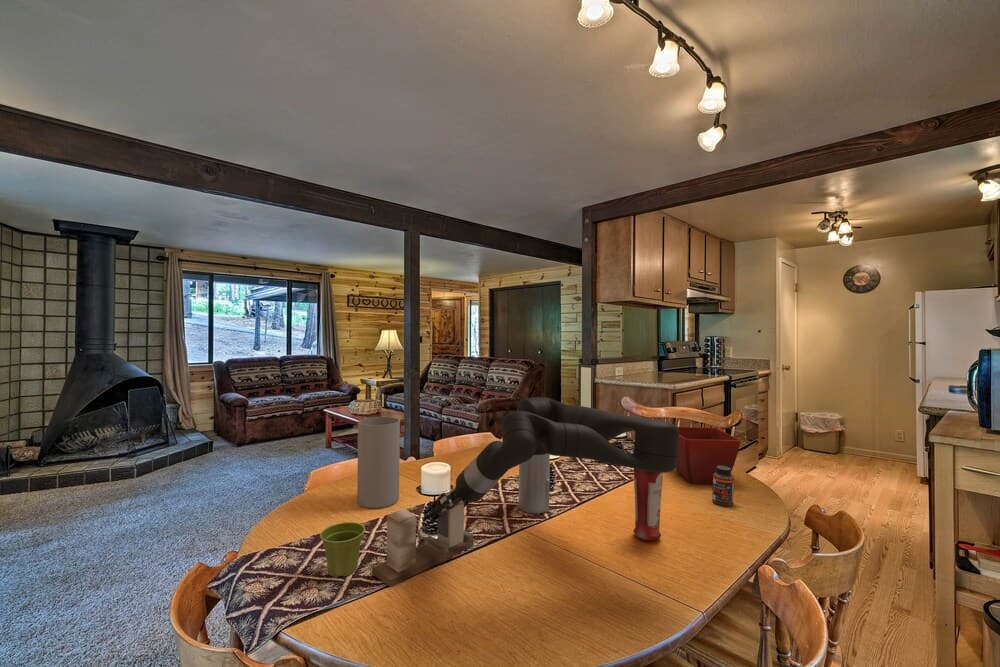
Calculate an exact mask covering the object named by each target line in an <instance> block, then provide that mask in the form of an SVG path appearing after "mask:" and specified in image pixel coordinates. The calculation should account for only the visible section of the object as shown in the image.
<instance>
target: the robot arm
mask: <svg viewBox="0 0 1000 667" xmlns="http://www.w3.org/2000/svg"><path fill="white" fill-rule="evenodd" d="M500 425H501V426H500V428H501V435H502V436H501V438H502V441H500V440H494V441H492V442H490V443H488V445H486V446H485V447H484V448H483V450H482V451H481V452H480V453H479V454H478V455H477V456H475V457H473V459H472V460H471V461H470V462H469V463H468V464H467V465H466V466H465V467H464V469H462V471H461V472H460V473H459V474H458V475H457V477H456V479H455V486H454V487H453V488H452V489H451V490H450V491H449V492H448V493H445V492H443V493H441V494H440V495H439V496H438V497H437V498H436V500H434V501H433V502H432V503H431V505H429V507H430V510H431V511H430V512H429V517H430V520H431V521H432V522H436V521H438V518H439V517H440V516H441V515H442V514H443V513H444V512H446V511H447V510H450V511H451V510H452V509H454V508H455V507H457V506H458V505H462V504H463V503H464V509H465V508H466V507H467V505H469V504H471V503H477V502H479V501H480V500H482V499H483V498H484V497H485V496H486V495H487V494H488V493H489V491H491V490H492V489H493V488H494V487H495V486H496V485H497V483H498V482H499V480H500V479H501V478H502V477H503V476H504V475H505V474H506V473H507V472H508V471H509V470H510V469H514V468H516V467H518V508H519V510H520V511H522V512H525V513H527V514H543V513H550V485H551V484H550V478H551V477H550V473H551V472H550V465H551V464H550V462H551V456H553V457H565V458H578V459H586V460H587V459H588V460H591V461H592V460H593V461H597V462H602V463H606V464H610V465H615V466H621V467H626V468H631V469H634V468H635V469H640V470H645V471H651V472H661V473H663V474H665V473H672V472H673V471H675V470H676V465H677V455H678V444H679V429H678V428H677V427H678V426H677V425H675V424H673V423H672V422H668V421H664V420H660V419H655V418H654V419H653V418H647V417H639V416H632V415H631V416H630V415H624V414H621V413H620V414H618V413H614V412H610V411H606V410H603V409H598V408H593V407H588V406H585V405H584V406H583V405H575V404H565V403H562V402H560V401H557V400H554V399H552V398H549V397H547V396H545V397H544V396H539V397H529V398H528V397H527V398H522V399H521V400H520V401H519V402H518V405H517V408H516V411H511V412H509V413H508V414H506V415H505V416H504V417H503V418H502V420H501V424H500ZM629 432H634V444H633V452H628V451H624V450H622V449H620V448H619V447H617V446H615V444H612V442H610V441H612V440H613V439H615V438H617V437H619V436H621V435H622V434H623V435H624V434H626V433H629ZM450 500H451V502H452V504H454V505H452V506H450V504H449V503H450V502H449V501H450ZM445 507H446V508H445Z"/></svg>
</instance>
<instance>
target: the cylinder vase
mask: <svg viewBox="0 0 1000 667" xmlns="http://www.w3.org/2000/svg"><path fill="white" fill-rule="evenodd" d="M400 434H401V419H400V418H398V417H393V416H373V417H366V418H362V419H359V420H358V421H357V474H356V475H357V478H356V479H357V483H356V484H357V486H356V487H357V489H356V490H357V491H356V493H357V495H356V497H357V498H356V500H357V504H358V505H359V506H361V507H362V508H366V509H383V508H388V507H390V506H393V505H394V504H396V503H397V502H398V501H399V498H400V463H401V462H400V457H401V456H400V453H401V452H400V451H401V450H400V448H401V447H400V446H401V442H400V440H401V439H400V436H401V435H400Z"/></svg>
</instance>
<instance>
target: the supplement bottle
mask: <svg viewBox="0 0 1000 667" xmlns="http://www.w3.org/2000/svg"><path fill="white" fill-rule="evenodd" d="M734 488H735V477H734V475H733V474H732V471H731V468H729V467H726V466H717V472H715V473H714V474H713V484H712V496H711V498H712V502H713V503H714V504H716V505H718V506H723V507H731V506H732V505H734Z"/></svg>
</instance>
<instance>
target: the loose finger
mask: <svg viewBox="0 0 1000 667" xmlns="http://www.w3.org/2000/svg"><path fill="white" fill-rule="evenodd" d="M449 502H450V503H449V504H450V506H452V505H454V504H452V502H451V500H450V501H449ZM445 508H446V507H445ZM464 517H465V508H464V503H463V504H462V505H458V506H457V507H455V508H454V509H452V510H451V511H450V510H447V511H446V512H444V513H443V514H442V515H441V516H440V517H439V518H438V519H437V538H438V541H440V542H442V543H444V544H446V545H448V547H449V548H450V547H453V546H455V545H457V544H459V543H461V542H463V539H464V530H465V529H464V528H465V526H464V524H465V520H464Z"/></svg>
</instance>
